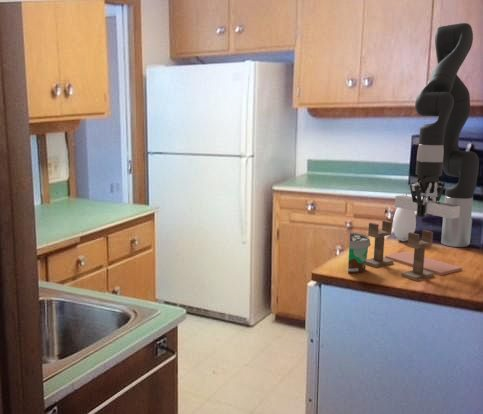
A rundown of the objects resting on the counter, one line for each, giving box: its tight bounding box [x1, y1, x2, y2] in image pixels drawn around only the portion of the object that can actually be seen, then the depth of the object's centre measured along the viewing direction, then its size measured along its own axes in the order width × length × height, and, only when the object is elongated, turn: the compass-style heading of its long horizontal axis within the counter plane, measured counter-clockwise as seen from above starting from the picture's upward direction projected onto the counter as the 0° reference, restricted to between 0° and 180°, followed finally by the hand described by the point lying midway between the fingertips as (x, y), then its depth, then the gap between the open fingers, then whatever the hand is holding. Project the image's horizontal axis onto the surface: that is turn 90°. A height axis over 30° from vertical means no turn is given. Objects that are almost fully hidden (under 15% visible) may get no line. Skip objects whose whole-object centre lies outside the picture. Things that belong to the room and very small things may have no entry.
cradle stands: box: [366, 220, 435, 282], centre depth 161 cm, size 8×20×13 cm, turn 34°
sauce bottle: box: [392, 191, 417, 242], centre depth 196 cm, size 8×8×18 cm
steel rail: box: [394, 195, 460, 219], centre depth 166 cm, size 4×21×4 cm, turn 33°
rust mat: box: [384, 251, 463, 276], centre depth 169 cm, size 10×21×1 cm, turn 34°
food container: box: [347, 232, 371, 275], centre depth 161 cm, size 12×6×10 cm, turn 168°
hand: (425, 215), depth 166 cm, fingers closed on steel rail, 3 cm apart
